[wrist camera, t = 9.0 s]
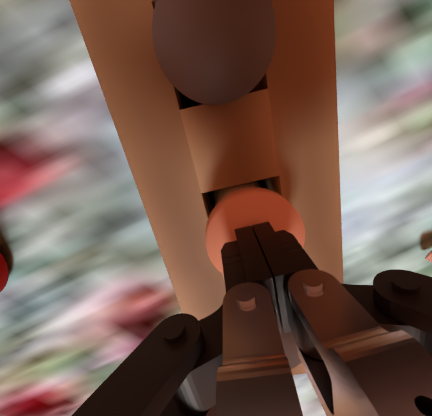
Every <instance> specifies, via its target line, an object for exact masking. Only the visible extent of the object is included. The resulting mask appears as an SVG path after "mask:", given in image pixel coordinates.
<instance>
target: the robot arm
mask: <svg viewBox="0 0 432 416" xmlns="http://www.w3.org/2000/svg"><path fill="white" fill-rule="evenodd" d="M234 231H235V235H236V241H231V242H227V243H224V245H223V247H222V249H221V257H222V265H223V273H224V281H225V289H226V294H225V296H224V298H223V304H222V305H221V306H220V308H219V309H218V310H216V311H215V312H214V313H212V314H211V315H209V316H207V317H205V318H203V319H201V320H199V321H198V320H197V318H196V317H194V316H193V315H190V314H186V313H181V314H176V315H173V316H170V317H168V318H166V319H165V320H163V321H162V322H161V323H160V324H159V325H158V326H157V327H156V328H155V329H154V330H153V331H152V332H151V333H150V334H149V335H148V336H147V337H146V338H145V339H144V340H143V341H142V342H141V343H140V345H139V346H138V347H137V348H136V349H135V350H134V351H133V352H132V353H131V354H130V355H129V356H128V357H127V358H126V359H125V360H124V361H123V362H122V363H121V364H120V365H119V366H118V368H117V369H116V370H115V371H114V372H113V373H112V374H111V375H110V376H109V377H108V378H107V379H106V380H105V381H104V382H103V383H102V384H101V385H100V386H99V387H98V388H97V390H96V391H95V392H94V393H93V394H92V395H91V396H90V397H89V398H88V399H87V400H86V401H85V402H84V403H83V404H82V405H81V406H80V407H79V408H78V409H77V410H76V412H75V413H74V414H73V415H72V416H303V414H302V410H301V406H300V402H299V399H298V395H297V391H296V387H295V383H294V379H293V376H292V372H291V368H290V364H289V361H288V358H287V357H286V355H285V352H284V348H283V344H282V340H281V336H280V334H282V331H281V327H282V329H283V332H284V333H288V332H292V333H293V336H294V338H295V341H296V347H297V354H298V356H299V358H300V361H301V363H302V365H303V367H304V369H305V371H306V373H307V375H308V377H309V379H310V382H311V384H312V386H313V388H314V390H315V392H316V394H317V396H318V398H319V400H320V403H321V405H322V407H323V409H324V411H325V413H326V415H327V416H432V277H429V276H426V275H422V274H419V273H415V272H411V271H406V270H387V271H383V272H381V273H379V274H377V275H376V276H375V278H374V280H373V285H348V284H342V283H340V282H339V281H338V280H337V279H336V278H335V277H334V276H333V275H331V274H329V273H327V272H325V271H322V270H319V269H318V268H317V266H316V265H315V264H314V262H313V261H312V260H311V258H310V257H309V255H308V254H307V253H306V251H305V250H304V249H303V248H302V246H301V245H300V243H298V240H297V239H296V238H295V236H294V235H293V234H291V233H289V232H287V231H285V230H280V231H276V232H275V231H274V229H273V227H272V226H271V224H270V223H269V221H268V222H264V223H259V224H255V225H252V227H251V226H246V227H242V228H237V229H234ZM280 324H281V325H280Z"/></svg>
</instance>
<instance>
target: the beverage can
mask: <svg viewBox="0 0 432 416" xmlns="http://www.w3.org/2000/svg"><path fill="white" fill-rule="evenodd" d="M8 275H9V273H8V267H7V264H6V261H5V259H4V257H3V256H2V254H1V253H0V292H1V291H2V290H3V289H4V287H5V285H6V284H7V281H8Z"/></svg>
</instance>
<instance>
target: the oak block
mask: <svg viewBox="0 0 432 416" xmlns="http://www.w3.org/2000/svg"><path fill="white" fill-rule="evenodd" d="M156 1H157V0H70V3H71V6H72V8H73V11H74V14H75V17H76V19H77V22H78V25H79V28H80V30H81V33H82V36H83V39H84V42H85V44H86V47H87V50H88V53H89V55H90V58H91V61H92V64H93V66H94V69H95V72H96V75H97V78H98V80H99V83H100V86H101V89H102V91H103V94H104V97H105V100H106V102H107V105H108V108H109V111H110V113H111V116H112V119H113V122H114V125H115V127H116V130H117V133H118V136H119V138H120V141H121V144H122V147H123V149H124V152H125V155H126V158H127V161H128V163H129V166H130V169H131V172H132V174H133V177H134V180H135V183H136V185H137V188H138V191H139V194H140V196H141V199H142V202H143V205H144V208H145V210H146V213H147V216H148V219H149V221H150V224H151V227H152V230H153V232H154V235H155V238H156V241H157V244H158V246H159V249H160V252H161V255H162V257H163V260H164V263H165V266H166V268H167V271H168V274H169V277H170V279H171V282H172V285H173V288H174V291H175V293H176V296H177V299H178V302H179V304H180V307H181V310H182V313H186V314H190V315H193V316H194V317H196V318H197V320H198V321H199V320H201V319H203V318H205V317H207V316H209V315H211V314H212V313H214V312H215V311H216V310H218V309H219V308H220V306H221V305H222V304H223V298H224V296H225V294H226V289H225V281H224V275H223V274H222V273H221V272H220V271H218V270H217V269H216V268H215V266H214V265H213V264H212V262H211V260H210V258H209V256H208V253H207V249H206V225H207V221H208V218H209V215H210V213H211V212H212V206H211V202H210V198H209V194H208V192H209V191H214V190H218V189H222V188H227V187H231V186H236V185H240V184H244V183H249V182H253V181H257V180H260V186H261V188H265V189H269V190H272V191H274V192H276V193H278V194H280V195H281V196H283V197H284V198H285V199H286V200H287V201H288V202H289V203H290V204H291V205H292V206H293V207H294V208H295V209H296V211H297V212H298V213H299V215H300V217H301V219H302V221H303V224H304V228H305V243H304V246H303V249H304V250H305V251H306V253H307V254H308V255H309V257H310V258H311V260H312V261H313V262H314V264H315V265H316V266H317V268H318V269H319V270H322V271H325V272H327V273H329V274H331V275H333V276H334V277H335V278H336V279H337V280H338V281H339V282H340V283H342V284H343V259H342V231H341V202H340V174H339V145H338V116H337V88H336V59H335V31H334V2H333V0H271V2H272V5H273V9H274V13H275V19H276V43H275V50H274V53H273V57H272V60H271V62H270V65H269V67H268V69H267V71H266V73H265V75H264V76H263V78H262V79H261V80H260V82H259V83H258V84H257V85H256V86H255V87H254V88H253V89H252V90H251V91H250V92H249V93H247V94H246V95H244V96H243V97H241V98H239V99H237V100H235V101H232V102H229V103H226V104H221V105H207V104H202V105H198V106H194V107H190V108H187V105H186V101H185V97H184V94H182V93H181V92H180V91H179V90H177V89H176V88H175V87H174V86H173V85H172V84H171V82H170V81H169V80H168V78H167V77H166V76H165V74H164V72H163V71H162V69H161V67H160V65H159V62H158V60H157V57H156V54H155V50H154V45H153V38H152V20H153V12H154V8H155V4H156ZM291 372H292V375H296V374H301V373H306V371H305V369H304V367H303V365H302V363H300V364H299V365H298V366H296V367H295V368H293V369H291Z"/></svg>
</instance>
